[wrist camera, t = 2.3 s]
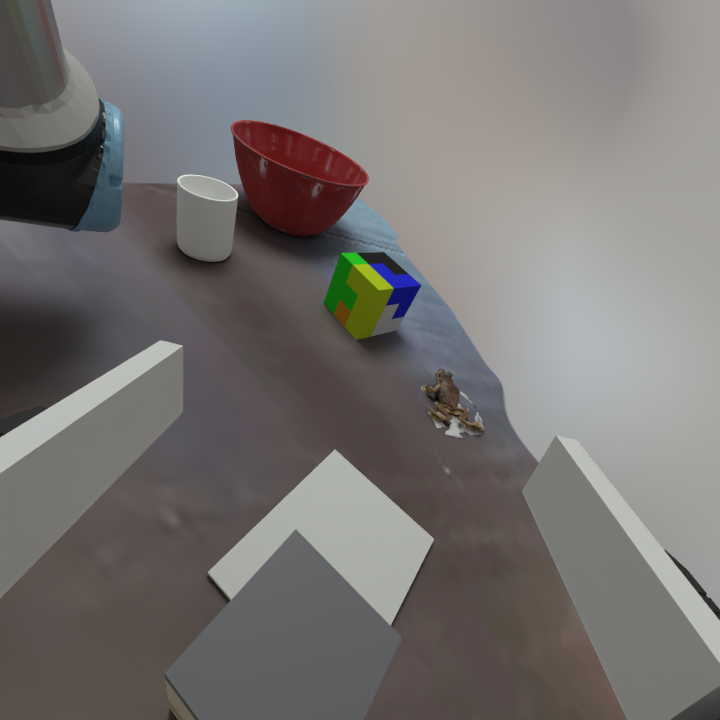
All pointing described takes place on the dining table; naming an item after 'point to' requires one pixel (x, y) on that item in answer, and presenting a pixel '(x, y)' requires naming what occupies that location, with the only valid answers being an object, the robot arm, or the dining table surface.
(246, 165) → the mixing bowl
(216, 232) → the mug
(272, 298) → the dining table surface
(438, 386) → the frog figurine
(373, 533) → the grey mat
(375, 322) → the puzzle toy
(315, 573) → the birch block
